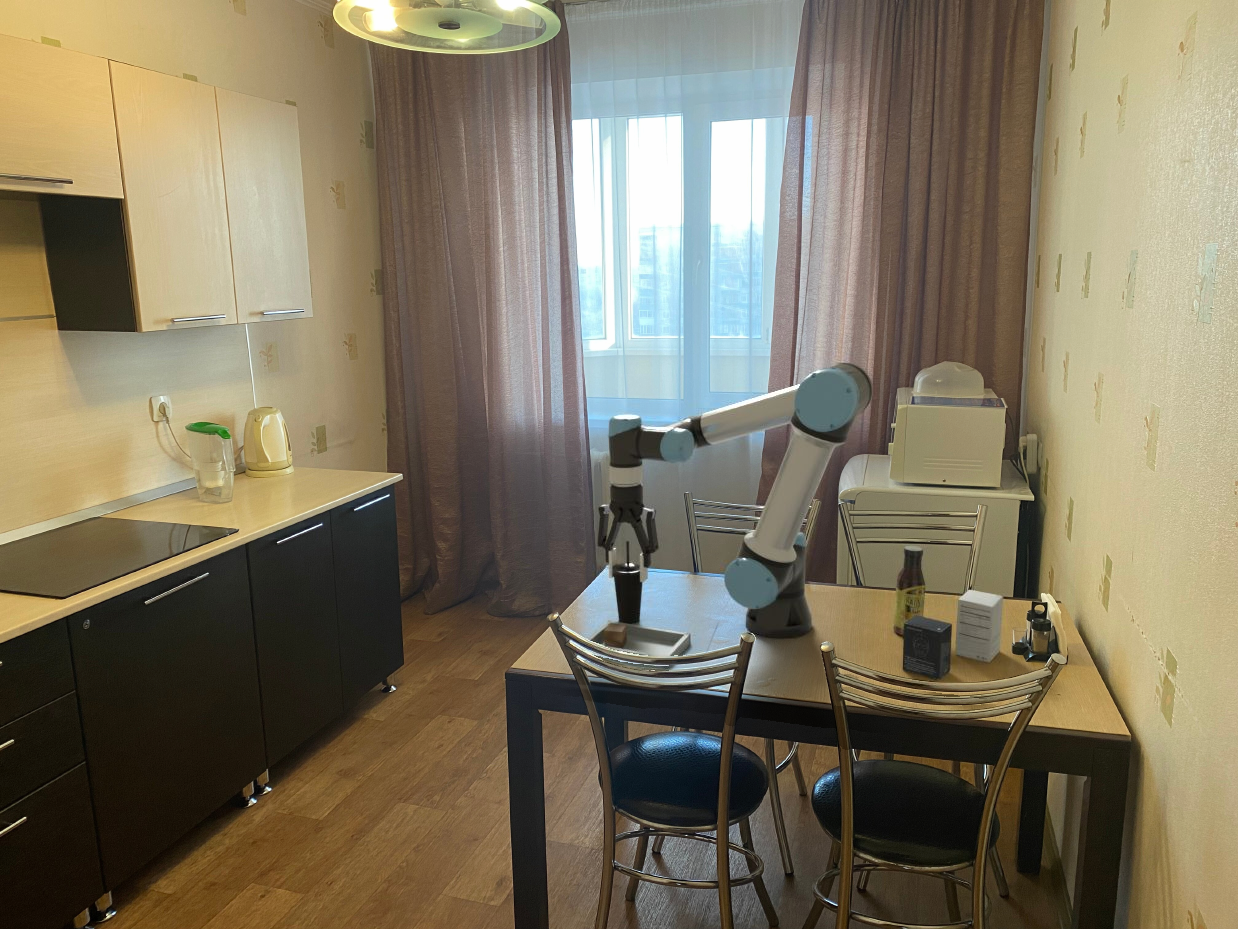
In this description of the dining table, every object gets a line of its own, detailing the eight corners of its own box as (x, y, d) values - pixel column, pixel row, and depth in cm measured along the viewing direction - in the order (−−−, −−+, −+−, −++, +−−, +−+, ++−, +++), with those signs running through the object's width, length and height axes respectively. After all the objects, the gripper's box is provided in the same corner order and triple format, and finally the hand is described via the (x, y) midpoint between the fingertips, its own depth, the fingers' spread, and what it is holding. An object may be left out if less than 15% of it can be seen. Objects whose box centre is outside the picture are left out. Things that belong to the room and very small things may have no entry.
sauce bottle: (905, 639, 200) (909, 554, 195) (887, 629, 205) (890, 546, 201) (929, 634, 202) (933, 550, 198) (910, 625, 208) (914, 542, 203)
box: (950, 671, 184) (953, 623, 181) (938, 681, 180) (941, 631, 177) (913, 661, 189) (916, 613, 187) (901, 670, 185) (903, 622, 183)
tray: (690, 645, 199) (690, 633, 199) (666, 671, 187) (666, 658, 186) (609, 632, 208) (608, 620, 207) (581, 656, 195) (580, 643, 195)
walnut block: (626, 641, 201) (626, 624, 200) (622, 649, 197) (621, 631, 196) (609, 640, 202) (609, 623, 201) (604, 647, 198) (604, 630, 197)
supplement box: (965, 643, 197) (969, 588, 194) (1000, 651, 193) (1004, 595, 190) (953, 654, 192) (957, 598, 189) (989, 663, 187) (993, 606, 184)
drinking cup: (642, 629, 209) (640, 547, 204) (610, 627, 210) (608, 545, 206) (648, 617, 216) (646, 537, 212) (616, 615, 217) (614, 536, 213)
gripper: (673, 482, 205) (674, 578, 210) (594, 476, 213) (597, 568, 218) (660, 490, 198) (662, 588, 203) (579, 483, 207) (582, 577, 212)
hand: (628, 577), depth 211 cm, fingers open, 7 cm apart
